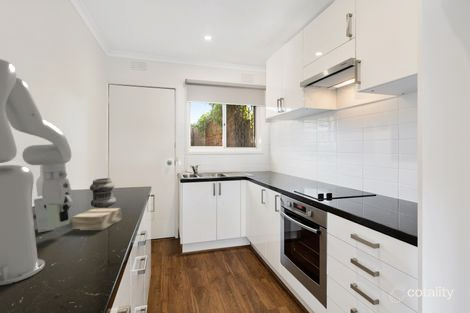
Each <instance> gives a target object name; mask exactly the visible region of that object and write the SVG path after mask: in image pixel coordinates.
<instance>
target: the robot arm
mask: <svg viewBox="0 0 470 313" xmlns="http://www.w3.org/2000/svg"><path fill="white" fill-rule="evenodd" d="M38 108H39V107H38V106H37V104H36V101H35V100H34V97H33V94H32V92H31V90H30V88H29V86H28V85H27V83H26V82H25V81H24V80H23V79H21V78H20V77H17V71H16V68H15V66H14V65H13V64H12V63H10V62H9V61H7V60H5V59H1V58H0V164H2V165H0V286H4V285H10V284H13V282H14V283H17V282H19V281H24V280H25V279H27V278H30V277H32V276H34V275H36V274H38V273H39V272H40V271H42V270H43V269H44V268H45V266H46V262H45V260H44V259H41V258H38V251H37V250H38V249H37V240H36V231H35V222H34V215H33V214H34V212H33V211H34V210H33V190H34V181H35V180H34V174H33V172H32V171H31V170H30V169H29V168H28V167H27V166H23V165H19V164H18V165H17V164H7V165H6V164H4V163H8V162H11V161H13V160H14V159H15V157H16V156H17V152H18V150H17V145H16V142H15V139H14V135H13V132H12V129H14V130H16V131H18V132H21V133H24V134H27V135H30V136H34V137H38V138H41V139H44V140H46V141H48V142H50V143H51V144H35V145H34V144H33V145H28V146H27V147H25V148H24V150H23V151H22V154H21V155H22V160H23V161H24V162H25V163H26V164H28V165H29V166H40V165H42V171H43V184H42V199H43V200H42V202H41V204H42V205H43V206H44V208H45V209H46V205H47V204H59V207H60V210H61V212H60V221H61V222H63V221H66V220H68V212H69V210H70V208H71V206H72V205H73V204H74V201H73V196H72V195H73V194H72V189H71V184H70V181H69V179H68V178H67V176H68V174H67V170H66V169H67V168H66V163H68V162H70V161H71V158H72V150H71V146H70V143H69V142H68V138H67V137H66V135H65V133H63V132H62V131H61V130H60V129H59V128H58V127H56V126H55V125H53V124H52V123H51V122H49V121H47V120H45V119H44V118H43V117H42V115H41V113H40V110H39V109H38ZM11 127H12V129H11ZM3 164H4V165H3ZM63 205H64V207H63ZM46 211H47V209H46Z"/></svg>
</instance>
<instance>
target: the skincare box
mask: <svg viewBox="0 0 470 313" xmlns="http://www.w3.org/2000/svg"><path fill="white" fill-rule="evenodd" d="M42 200H43V199H42V196H36V197H34V198H33V205H34V211H35V212H34V213H35V221H36V228H37V232H38V233H42V232H48V231H54V230H55V228H56V227H48V221H47V211H46V209H45V208H44V206H43V205H42V204H41V202H42Z"/></svg>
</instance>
